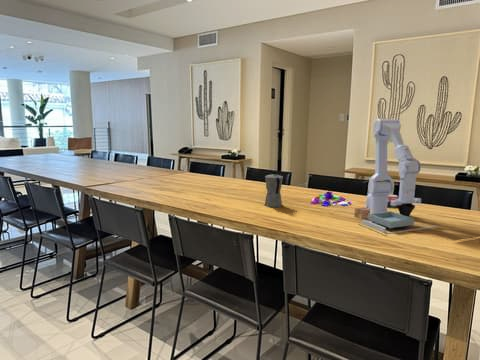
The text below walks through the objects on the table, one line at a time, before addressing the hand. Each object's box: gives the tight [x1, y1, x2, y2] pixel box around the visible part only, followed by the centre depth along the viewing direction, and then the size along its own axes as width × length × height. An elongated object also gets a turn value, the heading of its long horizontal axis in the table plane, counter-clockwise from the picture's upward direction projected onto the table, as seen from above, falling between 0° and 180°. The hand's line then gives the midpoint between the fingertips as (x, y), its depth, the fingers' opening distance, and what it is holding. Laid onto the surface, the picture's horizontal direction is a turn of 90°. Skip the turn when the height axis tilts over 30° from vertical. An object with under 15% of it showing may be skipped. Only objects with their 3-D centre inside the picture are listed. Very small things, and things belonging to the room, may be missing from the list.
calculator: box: [387, 194, 399, 209], centre depth 181 cm, size 11×4×15 cm
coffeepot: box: [264, 170, 284, 208], centre depth 174 cm, size 15×9×18 cm, turn 10°
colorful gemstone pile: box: [310, 190, 352, 207], centre depth 185 cm, size 25×20×4 cm
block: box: [354, 206, 371, 220], centre depth 152 cm, size 4×4×5 cm
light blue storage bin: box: [367, 210, 415, 231], centre depth 140 cm, size 12×12×4 cm
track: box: [357, 219, 438, 237], centre depth 142 cm, size 16×28×3 cm, turn 111°
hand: (404, 221), depth 143 cm, fingers closed
